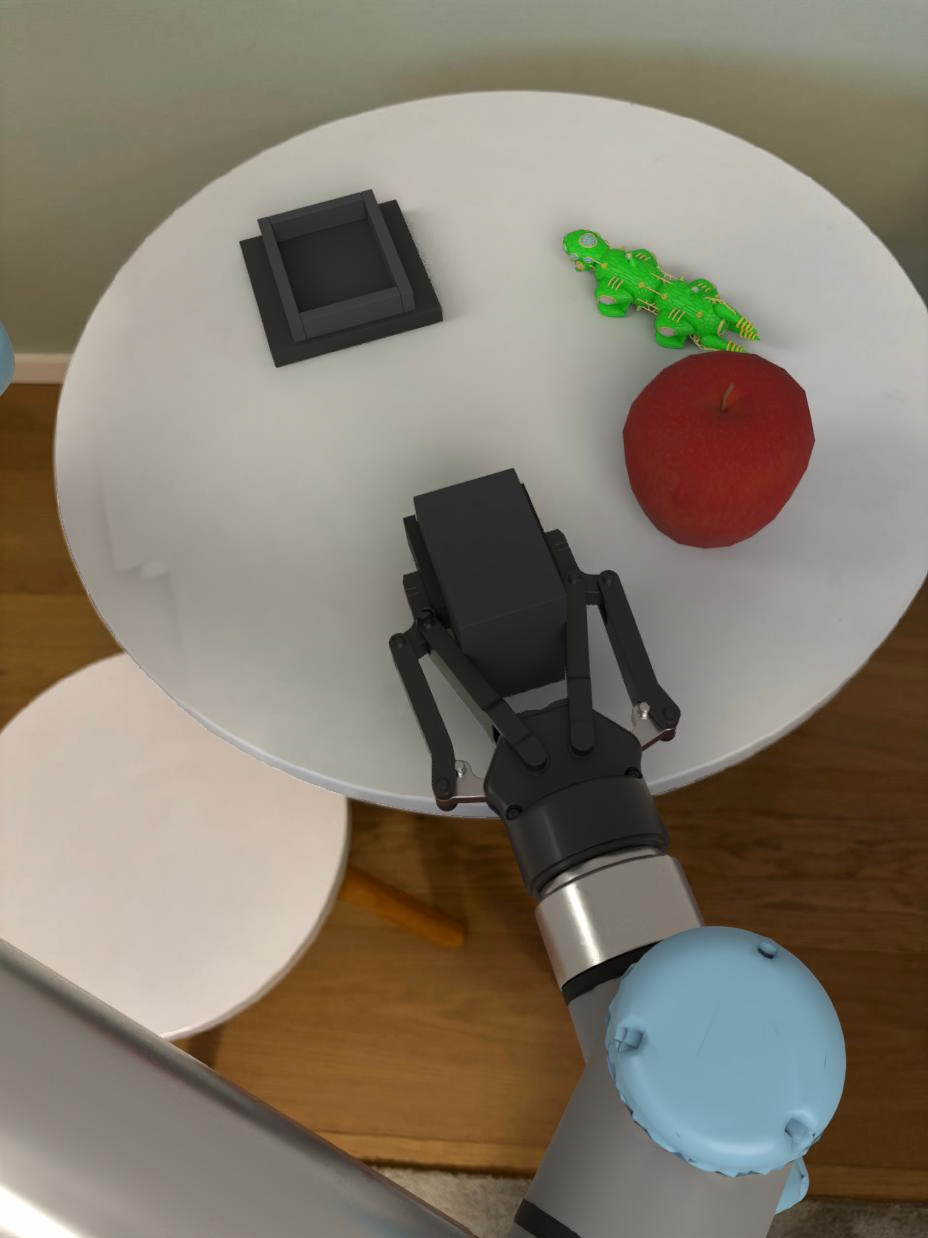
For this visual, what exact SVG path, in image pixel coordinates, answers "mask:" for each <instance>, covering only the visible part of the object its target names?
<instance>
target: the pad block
mask: <svg viewBox="0 0 928 1238" xmlns="http://www.w3.org/2000/svg"><path fill="white" fill-rule="evenodd" d="M521 483H522V482H521V481H520V478H519V477H518V474H517V471H516V469H515V468H514V467H511V468H507V469H504V470H500V471H497V472H494V473H490V474H486V475H483V476H480V477H477V478H473V479H469V480H466V481H463V482H459V483H455V484H452V485H449V486H445V487H441V488H439V489H435V490H432V491H427V492H425V493H421V494H418V495H415V496H412V501H413V506H414V511H415V516H416V519H417V522H418V526H419V529H420V532H421V534H422V537H423V540H424V543H425V546H426V549H427V552H428V555H429V557H430V560H431V563H432V566H433V569H434V572H435V575H436V578H437V580H438V583H439V586H440V589H441V592H442V595H443V598H444V601H445V604H446V608H447V614H448V619H449V625H450V629H447V631H448V633H449V634H450V635H451V636H452V638H453V639H454V640H455V641H456V643H457V644H458V645H459V646H460V648H461V650H462V653H465V654H466V655H467V656H468V658H469V659H470V660H471V661H472V663H473V664H474V665H475V666H476V668H477V669H478V670H479V671H480V673H481V674H482V675H483V677H484V678H485V679H486V680H487V682H488V683H489V684H490V685H491V687H492V688H493V689H494V690H495V692H496V693H497V694H498V695H499V697H500V698H502V699H504V700H505V699H506V698H510V697H513V696H518V695H519V694H523V693H526V692H529V691H533V690H537V689H539V688H543V687H546V686H549V685H552V684H555V683H559V682H562V681H564V680H565V681H566V664H565V622H567V598H568V595H567V593H566V590H565V588H564V585H563V583H562V581H561V578H560V576H559V574H558V571H557V569H556V566H555V564H554V562H553V559H552V557H551V555H550V552H549V550H548V547H547V545H546V543H545V540H544V538H543V535H542V533H541V531H540V528H539V526H538V524H537V521H536V519H535V516H534V514H533V512H532V509H531V507H530V505H529V502H528V500H527V497H526V495H525V493H524V490H523V488H522V486H521Z"/></svg>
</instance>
